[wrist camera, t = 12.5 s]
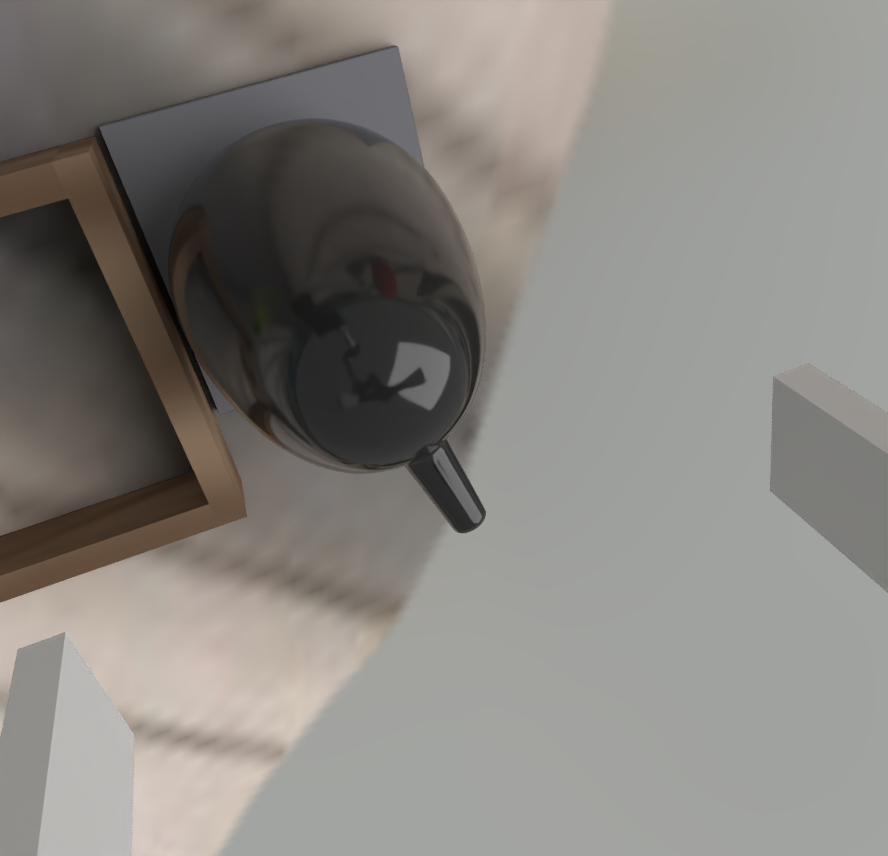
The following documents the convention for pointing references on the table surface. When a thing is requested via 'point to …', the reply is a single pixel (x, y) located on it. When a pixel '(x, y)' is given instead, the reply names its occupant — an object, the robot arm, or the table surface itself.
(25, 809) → the robot arm
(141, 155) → the rubber mat
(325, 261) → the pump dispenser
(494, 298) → the table surface
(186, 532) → the frame
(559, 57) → the table surface
